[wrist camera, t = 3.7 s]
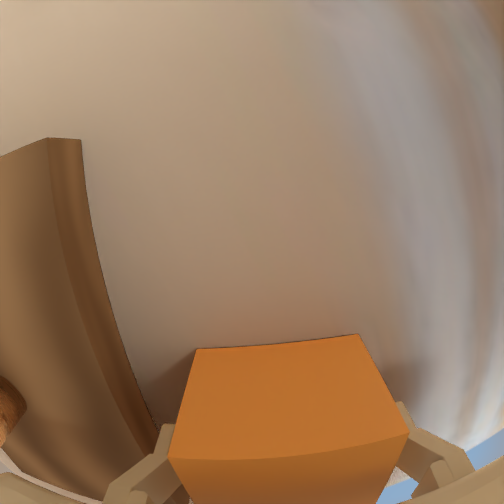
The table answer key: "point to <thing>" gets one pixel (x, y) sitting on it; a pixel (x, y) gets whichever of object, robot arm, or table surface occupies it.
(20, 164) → the base plate
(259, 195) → the table surface
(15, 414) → the post
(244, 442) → the orange wooden cube
